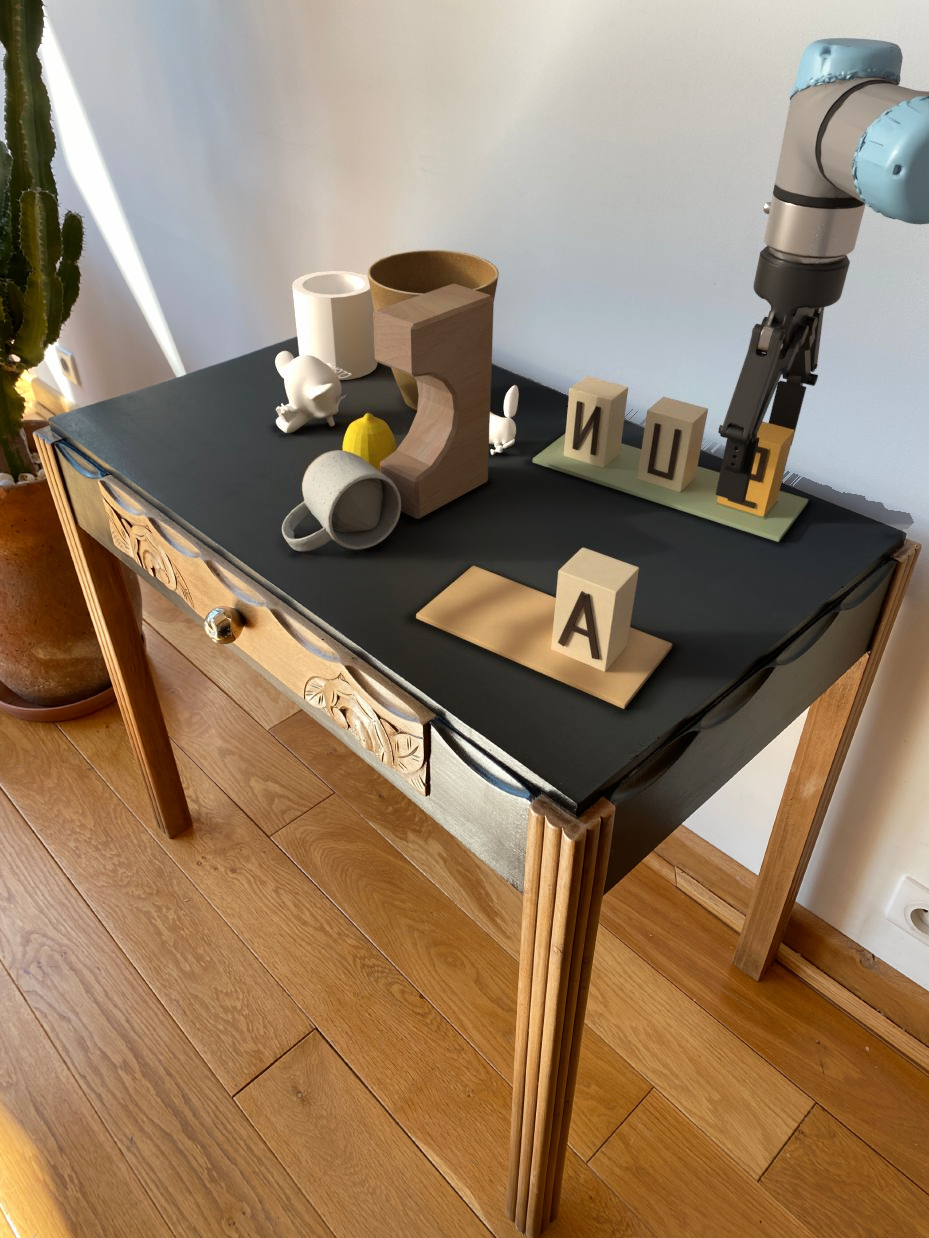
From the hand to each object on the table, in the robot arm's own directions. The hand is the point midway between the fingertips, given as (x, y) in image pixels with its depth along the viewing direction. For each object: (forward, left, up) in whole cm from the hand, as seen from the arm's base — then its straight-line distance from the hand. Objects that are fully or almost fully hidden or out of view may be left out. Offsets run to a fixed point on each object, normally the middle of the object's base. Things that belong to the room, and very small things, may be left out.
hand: (755, 469), depth 93 cm
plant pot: (+41, -2, -5) cm, 41 cm away
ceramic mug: (+31, +28, -5) cm, 42 cm away
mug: (+58, -5, -5) cm, 58 cm away
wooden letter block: (+18, 0, -4) cm, 18 cm away
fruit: (+35, +18, -5) cm, 40 cm away
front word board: (+7, +30, -4) cm, 31 cm away
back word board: (+9, 0, -4) cm, 10 cm away
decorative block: (+28, +16, -5) cm, 33 cm away
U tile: (+9, 0, -4) cm, 10 cm away
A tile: (+3, +30, -4) cm, 30 cm away
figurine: (+49, +11, -5) cm, 50 cm away
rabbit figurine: (+29, +2, -5) cm, 29 cm away
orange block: (0, 0, -4) cm, 4 cm away
